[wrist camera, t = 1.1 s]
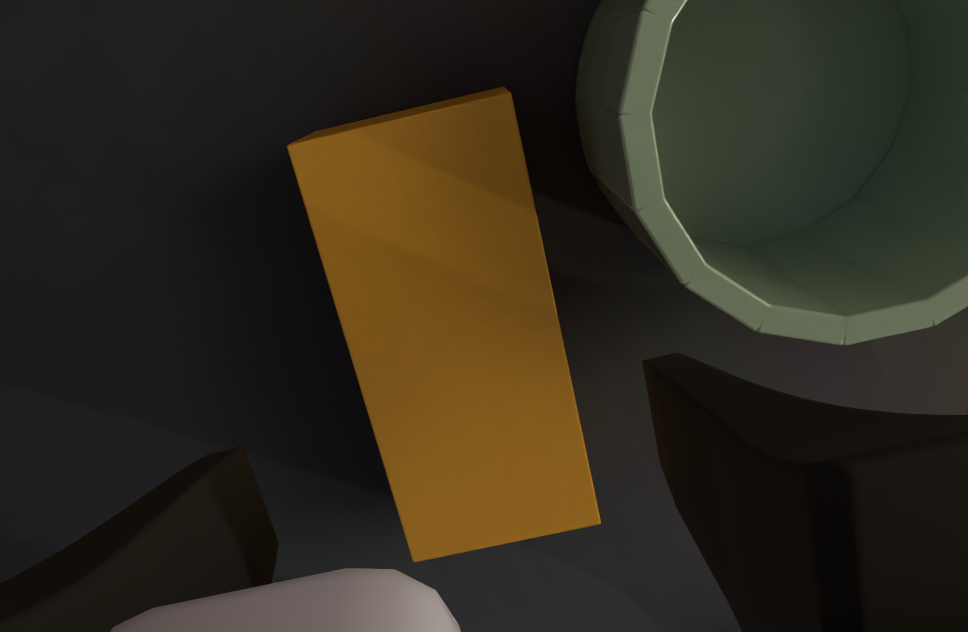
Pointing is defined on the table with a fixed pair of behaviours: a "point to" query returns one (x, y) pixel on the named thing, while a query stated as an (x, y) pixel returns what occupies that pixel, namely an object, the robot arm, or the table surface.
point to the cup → (789, 155)
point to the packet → (450, 320)
